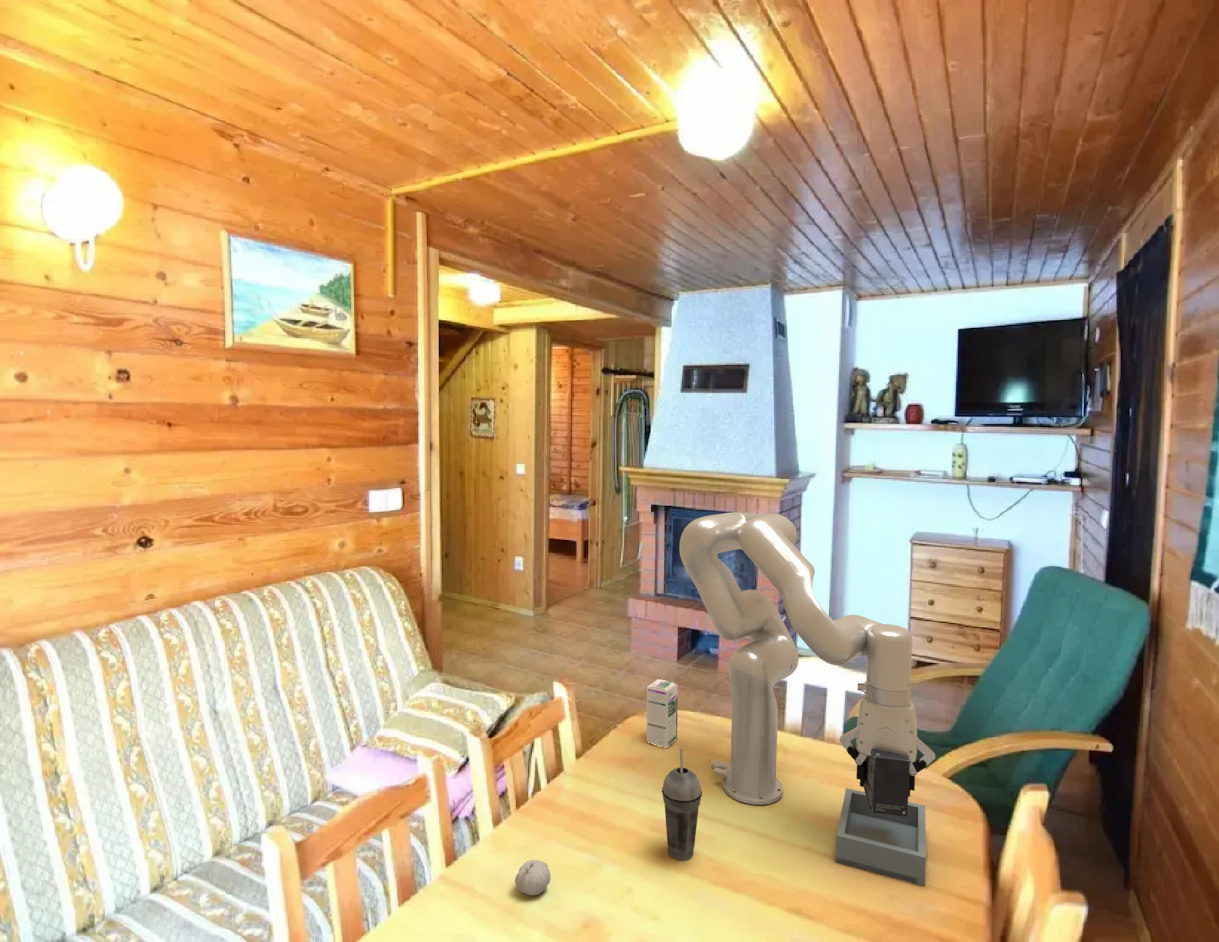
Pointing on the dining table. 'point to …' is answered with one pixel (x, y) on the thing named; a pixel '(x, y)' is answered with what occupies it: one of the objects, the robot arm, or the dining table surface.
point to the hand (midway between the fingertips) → (885, 787)
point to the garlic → (533, 877)
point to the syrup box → (662, 712)
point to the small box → (887, 782)
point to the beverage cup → (681, 810)
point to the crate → (882, 839)
